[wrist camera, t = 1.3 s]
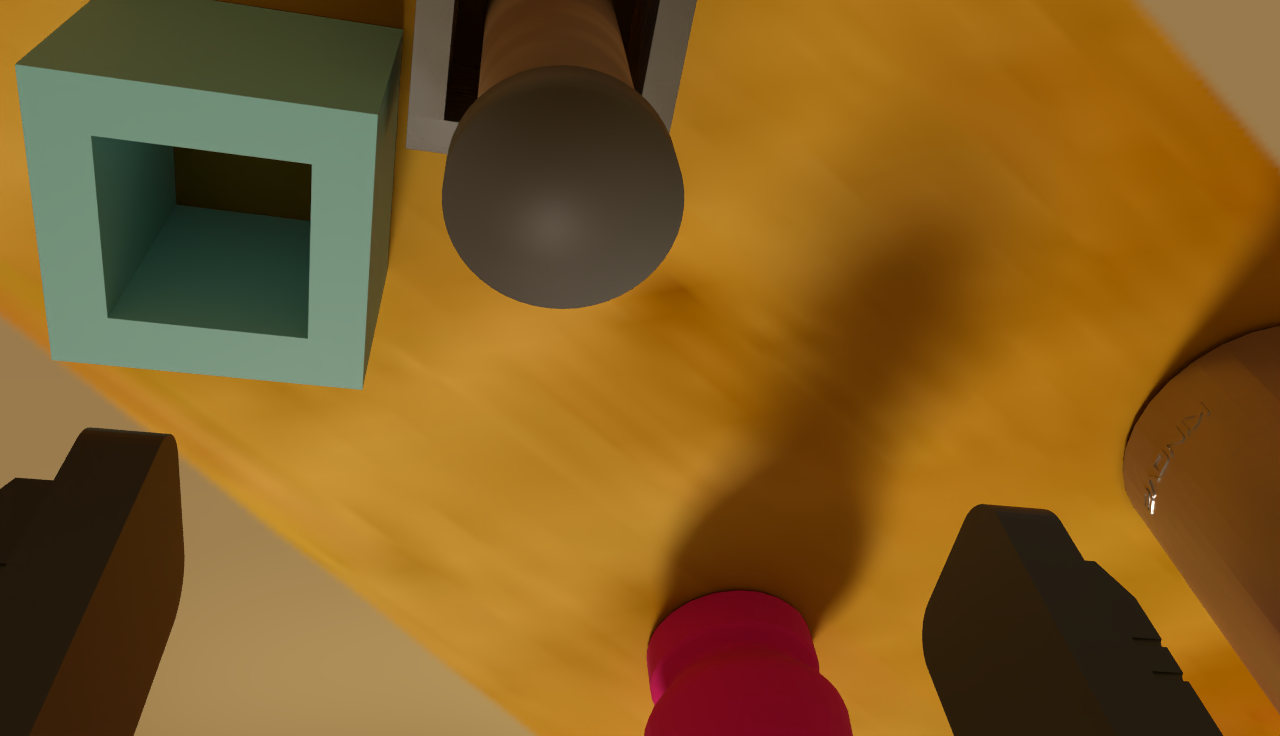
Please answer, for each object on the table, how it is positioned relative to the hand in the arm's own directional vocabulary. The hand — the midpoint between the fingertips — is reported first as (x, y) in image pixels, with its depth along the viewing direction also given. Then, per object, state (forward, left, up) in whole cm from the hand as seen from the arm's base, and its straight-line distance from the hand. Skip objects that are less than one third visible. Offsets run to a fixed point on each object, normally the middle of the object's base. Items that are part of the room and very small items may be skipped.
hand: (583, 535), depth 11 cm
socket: (+7, +5, -20) cm, 22 cm away
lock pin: (0, 0, -20) cm, 20 cm away
